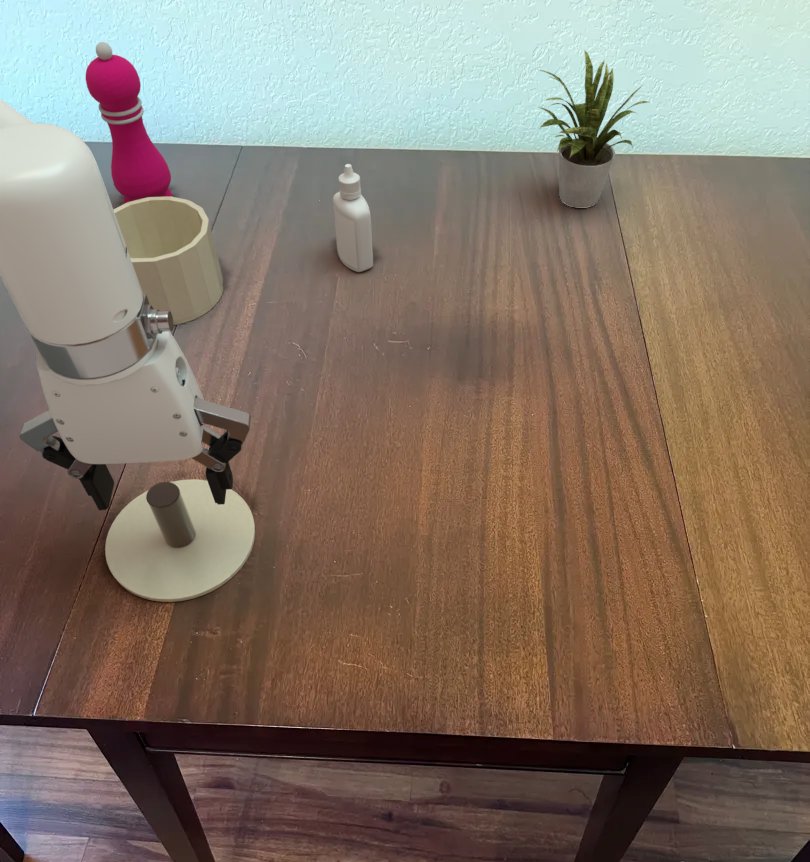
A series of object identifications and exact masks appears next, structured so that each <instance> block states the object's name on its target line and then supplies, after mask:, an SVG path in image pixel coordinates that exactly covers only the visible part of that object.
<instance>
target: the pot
mask: <svg viewBox="0 0 810 862" xmlns="http://www.w3.org/2000/svg"><path fill="white" fill-rule="evenodd" d="M113 210H114V213H115V216H116V218H117V221H118V224H119V227H120V230H121V233H122V235H123V238H124V241H125V244H126V247H127V250H128V253H129V255H130V258H131V261H132V264H133V267H134V270H135V273H136V275H137V278H138V281H139V284H140V287H141V290H142V293H143V294H146V295H147V298H148V300H149V303H150V305H151V306H152V307H153V308H154V309H159V311H170V312H171V314H172V317H173V326H177V325H181V324H186V323H188V322H191V321H193V320H196V319H198V318H200V317H202V316H204V315H205V314H207V313H209V312H210V311H211V310H212V309H213V308H214V307H215V306H216V305H217V304H218V303H219V301H220V300H221V298H222V295H223V292H224V277H223V273H222V268H221V265H220V261H219V257H218V252H217V248H216V243H215V240H214V235H213V230H212V227H211V222H210V219H209V217H208V216H207V214H206V212H205V210H204V208H203V207H202V206H200V205H198V204H196V203H195V202H193V201H191V200H190V199H185V198H180V197H176V196H173V197H171V196H167V197H147V198H143V199H139V200H135V201H131V202H128V203H125V204H124V203H122V204H121V205H119V206H117V207H116V208H113ZM217 302H218V303H217Z"/></svg>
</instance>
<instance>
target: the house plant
mask: <svg viewBox="0 0 810 862" xmlns="http://www.w3.org/2000/svg"><path fill="white" fill-rule="evenodd" d="M584 60H585V61H584V62H585V76H584V92H585V93H584V94H585V99H584V102H583V103H577V104H575V102H574V99H573V97H572V95H571V93H570V90H569V89H568V87H567V85H566V84H565V83H564V81H563V80H562V79H561V78H560V77H559V76H558V75H556V74H554V73H552V72H549V71H548V70H547V71H546V70H543V69H537V70H538V71H540V72H543V73H546V74H547V75H550V76H551V77H550V76H549V77H550V78H551V79H553V80H555V81H558V82H559V83H560V84H561V85H562V86H563V88H564V90H565V92H566V94H567V95H568V97H569V98H568V99H570V102H571V103H570V102H569V101H566V100H565V99H563V98H562V97H557V96H555V97H548V98H546V99H545V101H564V102H566V104H568V105H569V106H568V105H566V104H564V103H560V102H556V103H555V102H554V103H552V104H551V106H553V105H561V106H562V107H564V108H565V109H566V111H567V113H568V114H569V116H570V119H571V120H572V123H573V127H571V126H570V125H569V124H568V123H567V122H566V121H564V120H561V119H558V117H557V116H556V114H555V113H554V112H553V111H551V110H549V109H547V108H545V107H540V106H538V108H539V109H541V110H543V111H545V112H547V113H548V114H549V116H551V117H552V118H550V119H547V120H545V121H544V122H543V123H542V124H541V125H540V127H539V128H538V130H540V129H541V128H545V127H550V126H558V127H559V128H560V129H561V131H560V132H559V133H560V134H557V135H555V136H554V138H558V137H560V138H561V137H562V138H561V139H560V140H559V143H558V147H557V150H556V152H558V197H559V196H560V198H559V200H560V199H561V200H562V201H563V202H565V203H566V204H568V205H570V206H573V207H588V206H592V205H594V204H596V203H597V202H598V203H599V201H598V200H600V198H601V196H602V193H603V190H604V188H605V184H606V183H607V180H608V176H609V174H610V171H611V168H612V166H613V163H614V161H615V158H616V150H615V149H614V146H616V145H618V144H621V143H622V144H628V145H630V146H631V147H632V148H634V147H633V142H632V140H630V139H623V138H622V133H621V132H620V131H619V130H616V129H611V128H613V126H614V125H615V124H616V123H618V122H619V121H620V120H622V119H623V118H624V117H627V115H630V114H632V113H634V114H637V115H638V113H637V112H636V111H633V110H630V108H632V107H635V106H637V105H641V104H647V103H651V102H650V101H647V100H640V101H637V102H635V103H634V104H632V105H631V106H629V107H627V109H625V110H622V111H621V112H620V110H621V109H622V108H623V107H624V106H625V105H627V103H628V102H629V101H630V100H631V99H632V98H633V96H634V95H635V94H636V93H637V92H638V91H639V90H640V89H641V88H642V87H643V85H641V86H639V87H638V88H637V89H636V90H634V91H633V92H632V93H631V94H630V95H629V96H628V98H627V99H626V100H625V101H624V102H623V103H622V104H621V105H620V107H618V108H617V109H616V110H615V112H614V113H613V115H612V116H611V117H610V118H609V120H608V121H607V122H606V124H605V125H604V127H603V129H602V130H601V131H600V129H601V126H602V123H603V121H604V119H605V116H606V113H607V110H608V107H609V103H610V99H611V97H612V93H613V90H614V68H611V70H610V72H609V67H608V63H607V62H606V65H605V60H603V61H602V62H601V63H600V65H599V66H598V68H597V70H596V72H595V76H594V66H593V62H592V59H591V58H590V55H589V53H588V52H587V50H584ZM604 65H605V68H604ZM603 68H604V69H605V71H604V75H603V78H602V73H603ZM601 79H602V83H601V85H600V81H601ZM599 85H600V87H599ZM598 88H599V89H598ZM571 109H572V110H571ZM573 112H574V113H573ZM618 112H619V113H618ZM574 114H575V115H574ZM575 116H576V118H575ZM638 116H639V115H638ZM576 119H577V120H576ZM577 122H578V123H577ZM564 126H565V127H567V128H565V127H564ZM599 131H600V133H599ZM564 134H565V135H564ZM570 134H573V136H574V138H572V137H571V135H570ZM576 135H577V136H576ZM617 136H619V137H620V138H621V140H620V141H617V142H615V143H613V144H609V143H608V142H610V141H611V140H612V139H614V138H615V137H617ZM598 203H597V204H598ZM597 204H596V205H597Z"/></svg>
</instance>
